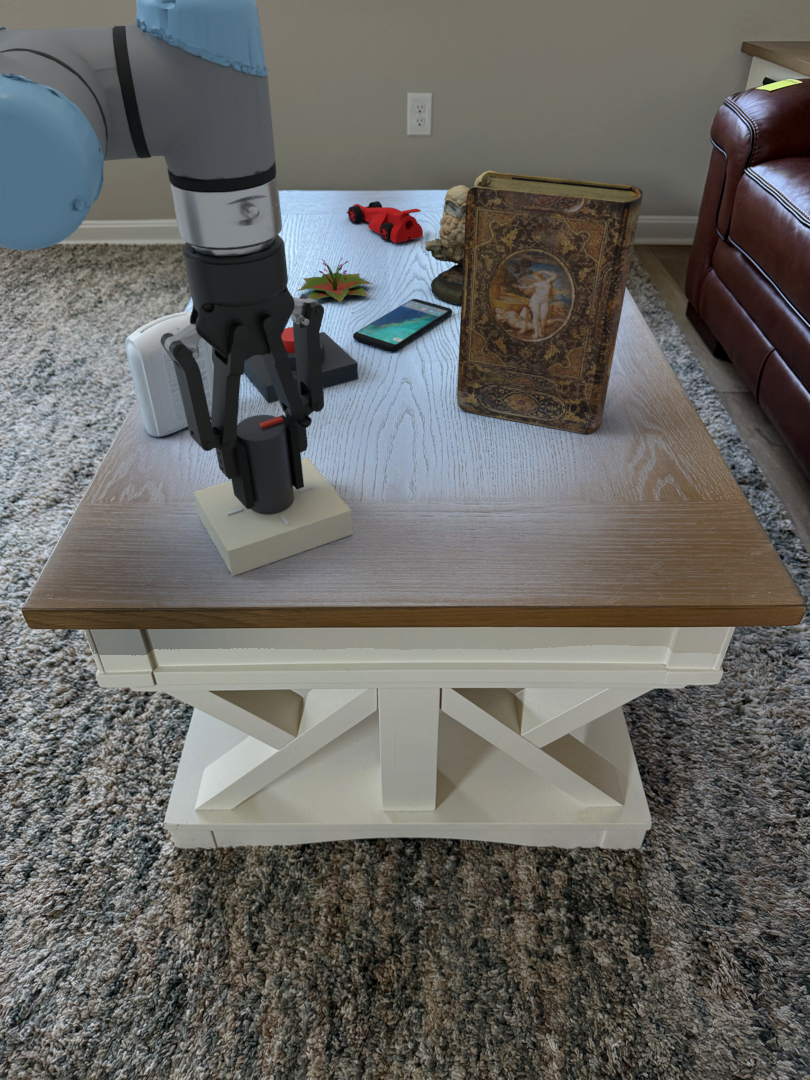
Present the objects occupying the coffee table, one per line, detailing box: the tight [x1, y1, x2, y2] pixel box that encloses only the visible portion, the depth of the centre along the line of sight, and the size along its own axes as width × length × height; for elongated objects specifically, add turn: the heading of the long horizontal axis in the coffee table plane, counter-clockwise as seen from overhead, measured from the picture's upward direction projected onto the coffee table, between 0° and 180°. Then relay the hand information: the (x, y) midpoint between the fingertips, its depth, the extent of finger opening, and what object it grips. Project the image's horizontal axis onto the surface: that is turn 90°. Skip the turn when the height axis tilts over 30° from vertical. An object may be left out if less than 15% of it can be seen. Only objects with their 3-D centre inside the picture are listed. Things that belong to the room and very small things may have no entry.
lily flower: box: [296, 257, 374, 304], centre depth 117 cm, size 12×12×5 cm
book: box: [456, 171, 644, 435], centre depth 84 cm, size 16×6×25 cm, turn 70°
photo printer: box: [124, 310, 214, 438], centre depth 87 cm, size 10×4×12 cm, turn 134°
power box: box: [243, 331, 359, 403], centre depth 98 cm, size 12×10×4 cm
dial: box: [236, 414, 294, 514], centre depth 71 cm, size 4×4×8 cm
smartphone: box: [352, 298, 453, 352], centre depth 109 cm, size 7×1×15 cm
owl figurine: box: [424, 169, 496, 306], centre depth 112 cm, size 18×12×17 cm, turn 82°
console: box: [192, 456, 353, 577], centre depth 75 cm, size 12×10×3 cm
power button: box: [281, 326, 295, 353], centre depth 96 cm, size 4×4×2 cm
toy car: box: [346, 200, 424, 244], centre depth 138 cm, size 6×18×5 cm, turn 33°
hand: (269, 490), depth 73 cm, fingers closed on dial, 4 cm apart
